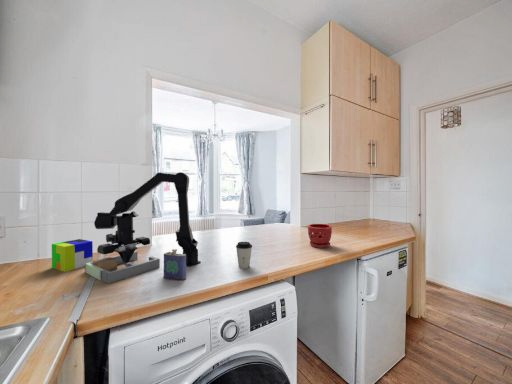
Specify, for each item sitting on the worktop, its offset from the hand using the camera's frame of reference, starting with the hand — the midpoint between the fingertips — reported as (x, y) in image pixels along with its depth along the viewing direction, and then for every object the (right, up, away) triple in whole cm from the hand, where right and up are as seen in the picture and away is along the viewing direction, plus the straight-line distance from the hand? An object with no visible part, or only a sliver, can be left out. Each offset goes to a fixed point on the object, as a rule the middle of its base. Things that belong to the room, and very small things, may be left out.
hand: (126, 265), depth 92 cm
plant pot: (+91, -1, +34) cm, 97 cm away
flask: (+25, -1, -11) cm, 27 cm away
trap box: (+1, -1, -3) cm, 3 cm away
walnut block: (-5, -1, -6) cm, 8 cm away
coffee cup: (+49, -1, +1) cm, 50 cm away
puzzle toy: (-23, -1, +1) cm, 24 cm away
